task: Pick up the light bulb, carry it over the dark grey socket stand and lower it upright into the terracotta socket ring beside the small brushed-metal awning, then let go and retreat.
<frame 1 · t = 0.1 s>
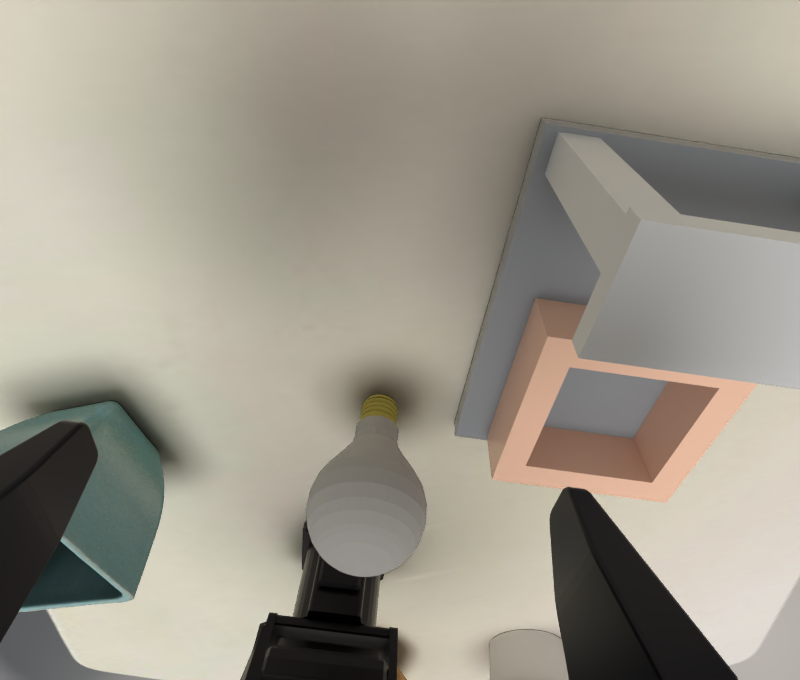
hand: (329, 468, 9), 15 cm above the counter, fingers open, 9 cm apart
flower pot: (110, 429, 31), on the counter
coffee cup: (526, 643, 46), on the counter
socket stand: (592, 374, 26), on the counter
light bulb: (381, 398, 28), on the counter
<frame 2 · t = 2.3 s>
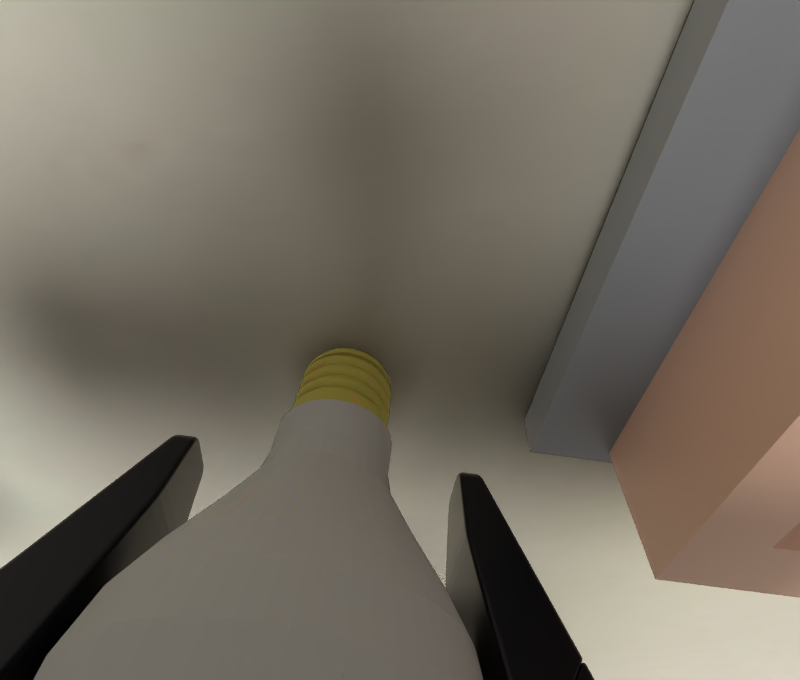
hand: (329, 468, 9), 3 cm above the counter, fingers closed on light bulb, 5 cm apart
light bulb: (352, 361, 12), on the counter, touching gripper
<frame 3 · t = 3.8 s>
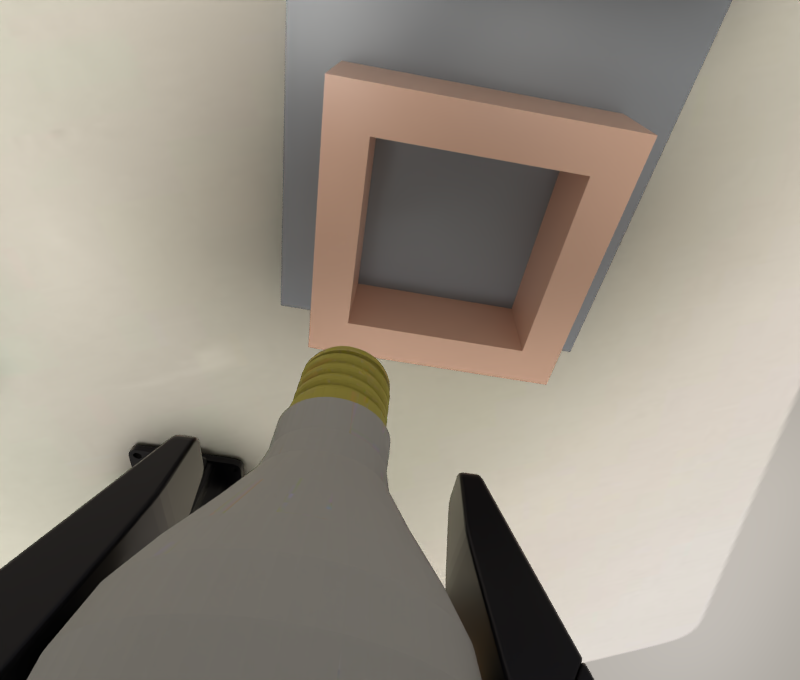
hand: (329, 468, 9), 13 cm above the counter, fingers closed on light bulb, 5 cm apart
socket stand: (451, 213, 19), on the counter
light bulb: (351, 359, 12), point 10 cm above the counter, touching gripper
when the fingers open (5 cm above the counter, at t = 5.6 s): light bulb stays where it is, resting on socket stand.
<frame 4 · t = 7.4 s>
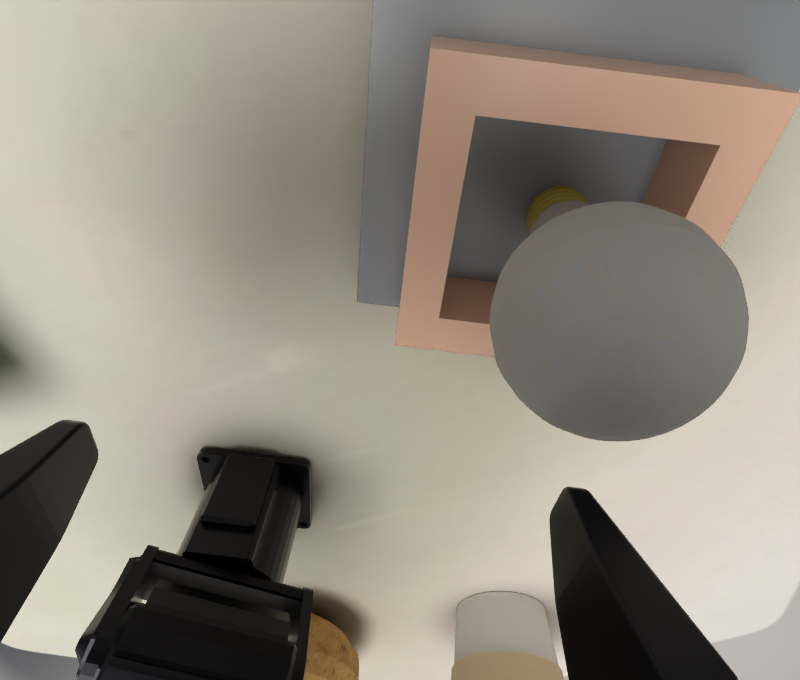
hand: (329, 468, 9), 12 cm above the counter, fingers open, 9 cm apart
potato: (312, 621, 42), on the counter
coffee cup: (500, 609, 38), on the counter
socket stand: (539, 195, 18), on the counter
light bulb: (552, 205, 17), point 1 cm above the counter, touching socket stand
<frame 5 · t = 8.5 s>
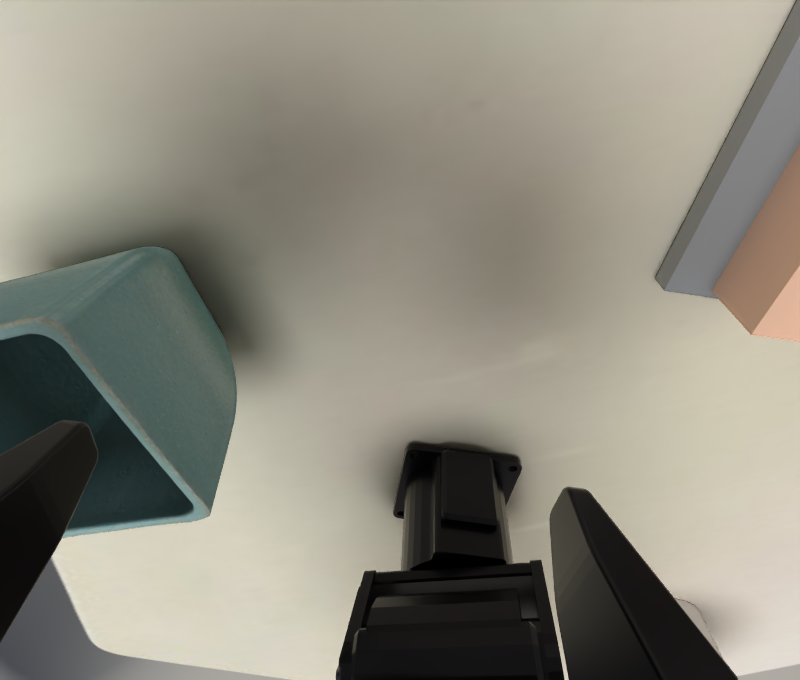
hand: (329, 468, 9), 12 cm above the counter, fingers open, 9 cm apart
flower pot: (158, 302, 23), on the counter
coffee cup: (650, 616, 37), on the counter
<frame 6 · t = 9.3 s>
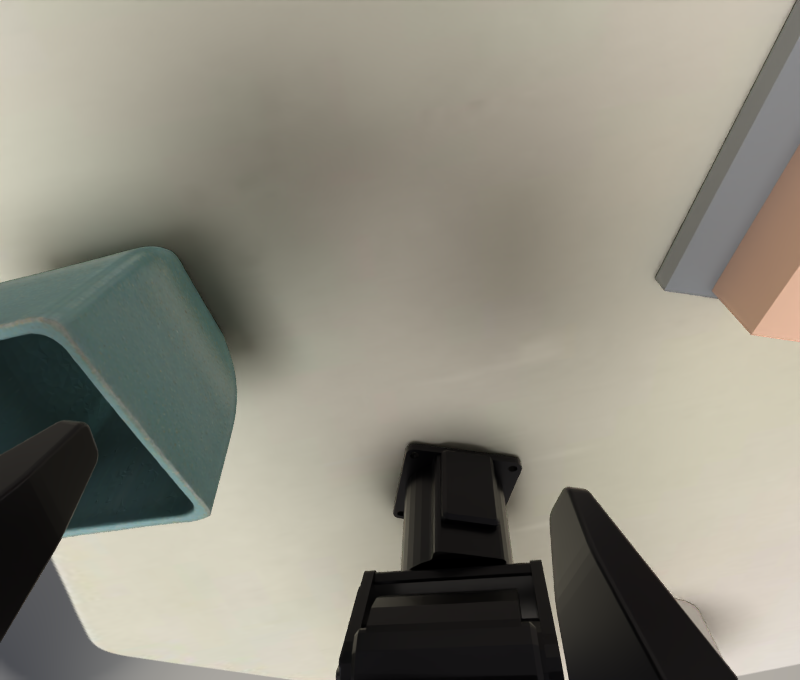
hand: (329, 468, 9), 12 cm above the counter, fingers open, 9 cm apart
flower pot: (158, 302, 23), on the counter
coffee cup: (650, 616, 37), on the counter
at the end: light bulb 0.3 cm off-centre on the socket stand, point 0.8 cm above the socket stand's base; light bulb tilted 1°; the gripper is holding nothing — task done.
